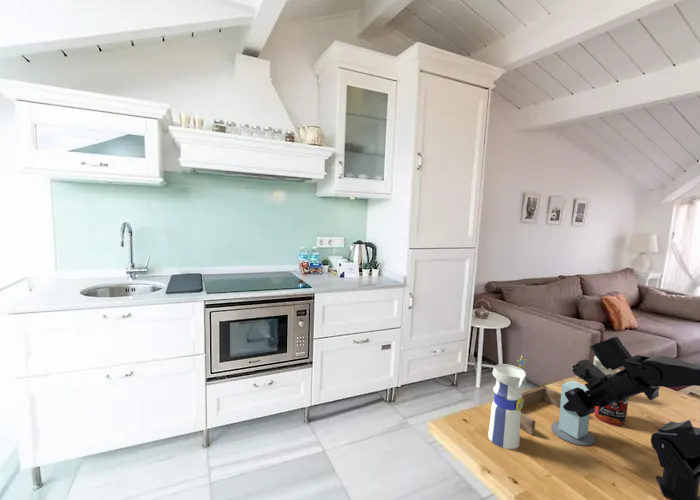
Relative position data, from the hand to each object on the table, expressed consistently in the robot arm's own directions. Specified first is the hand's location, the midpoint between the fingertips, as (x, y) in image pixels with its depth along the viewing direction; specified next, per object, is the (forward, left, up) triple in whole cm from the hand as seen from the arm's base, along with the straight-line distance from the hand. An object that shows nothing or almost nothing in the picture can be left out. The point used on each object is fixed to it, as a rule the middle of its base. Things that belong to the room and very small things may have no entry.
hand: (569, 405), depth 95 cm
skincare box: (+31, -11, -8) cm, 34 cm away
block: (-1, -1, -7) cm, 7 cm away
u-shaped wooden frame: (+4, +7, -7) cm, 11 cm away
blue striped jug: (-14, +15, -8) cm, 21 cm away
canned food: (+14, -11, -8) cm, 20 cm away
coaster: (-1, -1, -7) cm, 8 cm away
